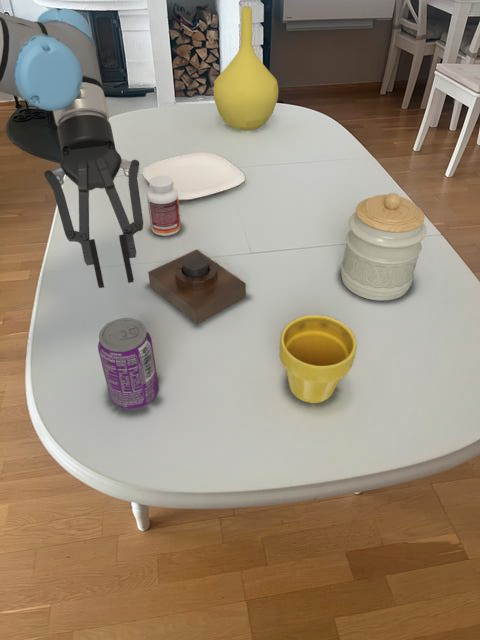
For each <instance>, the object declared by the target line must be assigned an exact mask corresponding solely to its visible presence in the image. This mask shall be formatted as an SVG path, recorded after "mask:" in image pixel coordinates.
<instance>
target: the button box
mask: <svg viewBox="0 0 480 640" xmlns="http://www.w3.org/2000/svg"><path fill="white" fill-rule="evenodd" d="M190 255H202V256H204V257H206V258H207V260H208V274H207V275H205V276H203V277H200V278H190V277H186V276H185V275H184V273H183V263H182V262H183V260H184V258H186V257H187V256H190ZM147 275H148V281H149V286H150V287H151V288H152V289H153V290H154V291H155V292H156V293H158V294H159V295H161V297H163V298H164V300H166V301H168V302H169V303H170V304H171V305H172V306H174V308H176V309H177V310H178V311H179V312H181V313H182V314H183V315H184V316H185V317H187V318H188V319H189V320H190V321H192V322H193V323H194V324H195V325H199V324H201V323H203V322H204V321H206V320H208V319H210V318H212V317H214V316H215V315H217V314H219V313H220V312H222V311H224V310H226V309H228V308H230V307H231V306H233V305H235V304H237V303H238V302H240V301H242V300H244V299H246V297H247V295H246V294H247V293H246V291H247V289H246V287H247V284H246V282H245V281H243V280H241V279H240V278H238V277H237V276H236V275H234V274H233V273H232V272H230V271H229V270H227V269H226V268H225V267H223V266H221V265H220V264H218V263H217V262H216V261H214V260H213V259H211V258H210V257H208V256H207V255H205V254H204V253H203V252H202V251H200V250H198V249H194V250H192V251H190V252H187V253H185V254H184V255H181V256H179V257H177V258H175V259H173V260H171V261H169V262H166V263H164V264H162V265H160V266H158V267H155V268H154V269H152V270H149V271H148V272H147Z"/></svg>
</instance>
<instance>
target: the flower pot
mask: <svg viewBox="0 0 480 640" xmlns="http://www.w3.org/2000/svg"><path fill="white" fill-rule="evenodd" d="M357 347H358V343H357V338H356V335H355V334H354V332H353V331H352V330H351V329H350V327H349V326H347V325H346V324H345V323H343V322H342V321H340V320H338V319H336V318H333V317H330V316H326V315H321V314H320V315H319V314H310V315H304V316H303V315H302V316H300V317H297V318H295V319H293V320H291V321H290V322H289V323H288V324H287V325H285V327H284V328H283V329H282V331H281V334H280V339H279V359H280V363H281V364H282V366H283V367H284V368H285V371H286V376H287V381H288V386H289V390H290V392H291V393H292V394H293V396H295V398H297V399H298V400H300V401H302V402H304V403H305V402H306V403H310V404H319V403H323V402H325V401H326V400H328V399H329V398H330V397H331V396H332V395H333V394H334V391H335V390H336V388H337V386H338V385H339V383H340V381H341V379H342V378H343V377H345V376H346V375H348V373H349V372H350V370H351V369H352V366H353V364H354V361H355V358H356V352H357Z"/></svg>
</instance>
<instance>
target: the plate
mask: <svg viewBox="0 0 480 640" xmlns="http://www.w3.org/2000/svg"><path fill="white" fill-rule="evenodd" d="M142 176H143V178H144V179H145V181H146V182H147V183H149V180H150V179H151V178H153V177H155V176H168V177H171V178H172V179H173V188H174V189H176V191H177V193H178V201H192V200H193V201H194V200H198V199H202V198H205V197H209V196H212V195H216V194H221V193H222V192H223V193H224V192H227V191H229V190H232V189H235V188H237V187H239V186H241V185H242V184H243V183H244V182H245V181H246V178H245V174H244V173H243V171H241V170H240V169H239V168H237V167H236V166H235V165H234V164H233V163H231V162H229V161H228V160H227V159H226V158H224V157H222V156H220V155H218V154H217V153H213V152H208V151H202V152H201V151H198V152H191V153H185V154H181V155H177V156H174V157H169V158H166V159H162V160H158V161H155V162H152V163H150V164H148V165H147V166H145V167H143V169H142Z"/></svg>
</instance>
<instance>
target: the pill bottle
mask: <svg viewBox="0 0 480 640" xmlns="http://www.w3.org/2000/svg"><path fill="white" fill-rule="evenodd" d="M148 187H149V190H148V191H147V194H146V198H147V199H146V200H147V207H148V215H149V223H150V229H151V231H152V232H153V233H154V234H155V235H157V236H161V237H169V236H173V235H176V234H177V233H178V232H180V230H181V227H182V226H181V215H180V204H179V200H178V193H177V191H176V189H174V188H173V179H172V178H171V177H168V176H155V177H153V178H151V179H150V180H149V182H148Z"/></svg>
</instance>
